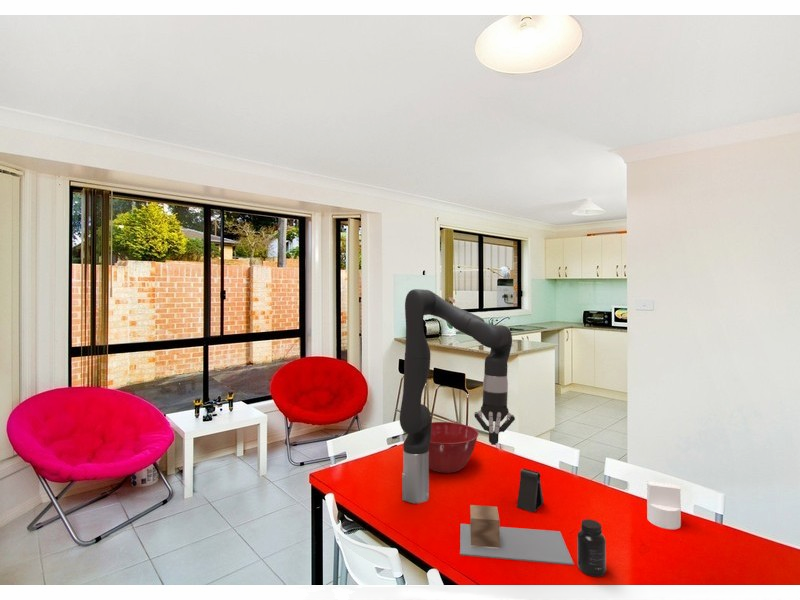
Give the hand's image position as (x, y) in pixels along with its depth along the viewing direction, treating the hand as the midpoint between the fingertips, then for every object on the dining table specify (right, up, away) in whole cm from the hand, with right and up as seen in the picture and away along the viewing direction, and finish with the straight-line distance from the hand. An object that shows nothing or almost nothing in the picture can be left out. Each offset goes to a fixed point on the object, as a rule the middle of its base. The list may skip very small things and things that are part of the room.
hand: (493, 444), depth 131 cm
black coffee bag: (+16, -26, +13) cm, 33 cm away
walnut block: (-5, -25, -8) cm, 27 cm away
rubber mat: (+3, -26, -10) cm, 28 cm away
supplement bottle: (+21, -26, -21) cm, 40 cm away
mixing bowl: (-10, -27, +47) cm, 55 cm away
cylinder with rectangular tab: (+55, -26, +2) cm, 61 cm away
